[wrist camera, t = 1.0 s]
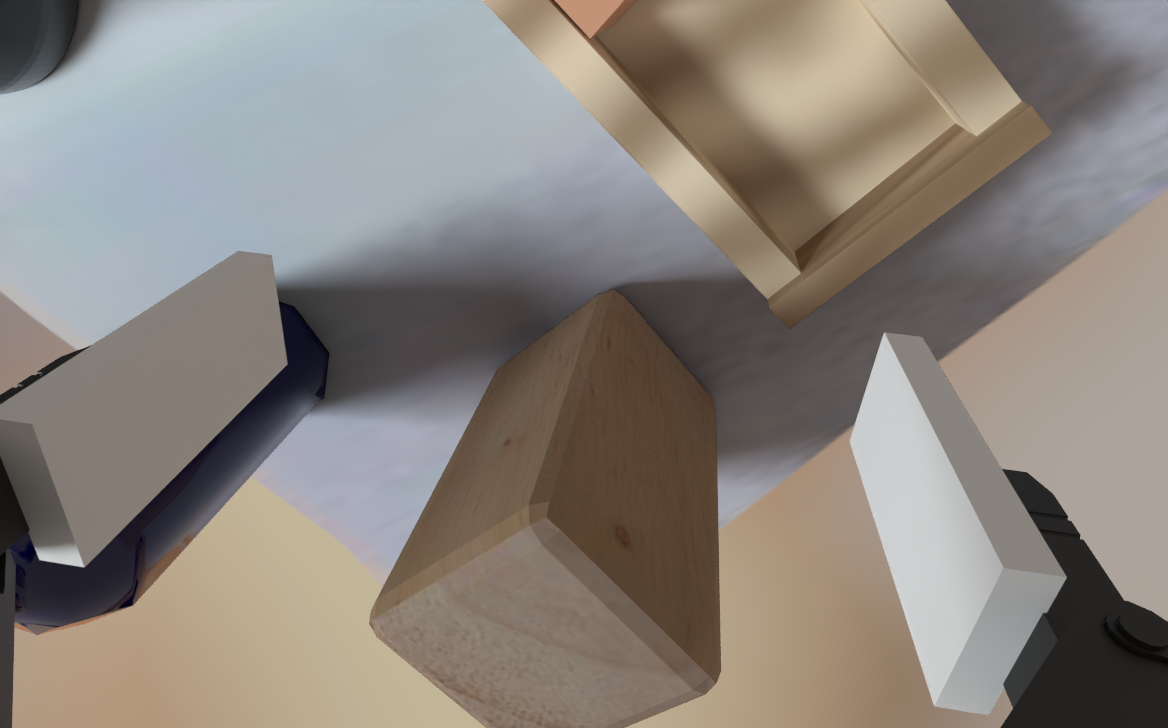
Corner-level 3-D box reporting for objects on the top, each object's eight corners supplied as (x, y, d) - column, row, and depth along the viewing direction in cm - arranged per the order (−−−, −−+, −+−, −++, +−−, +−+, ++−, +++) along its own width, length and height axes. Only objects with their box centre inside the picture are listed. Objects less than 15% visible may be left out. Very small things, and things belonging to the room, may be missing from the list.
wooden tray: (442, -70, 33) (402, -76, 29) (647, -358, 28) (636, -419, 23) (780, 289, 39) (789, 329, 35) (1007, 111, 33) (1052, 133, 29)
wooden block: (615, 276, 40) (544, 511, 23) (722, 401, 43) (733, 697, 26) (489, 370, 44) (349, 630, 27) (595, 479, 47) (529, 778, 30)
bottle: (228, 258, 43) (-499, 699, 17) (357, 352, 45) (-124, 878, 19) (173, 359, 47) (-477, 834, 21) (293, 440, 49) (-172, 971, 23)
